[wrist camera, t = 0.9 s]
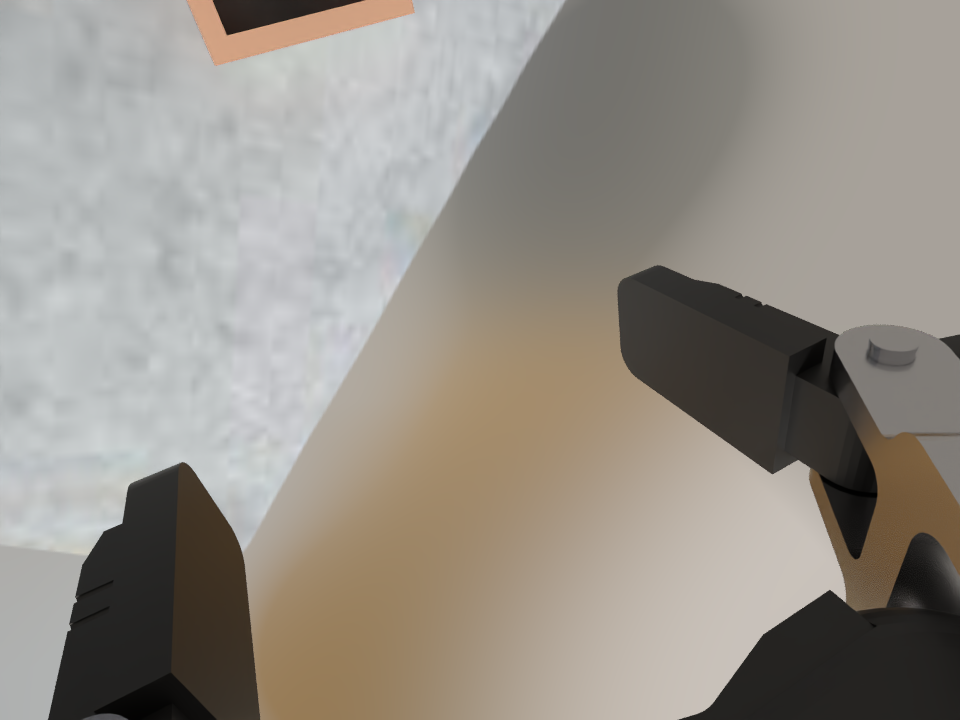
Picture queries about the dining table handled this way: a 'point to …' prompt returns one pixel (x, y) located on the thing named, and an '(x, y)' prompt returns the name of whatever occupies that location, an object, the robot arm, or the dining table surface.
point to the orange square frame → (289, 27)
